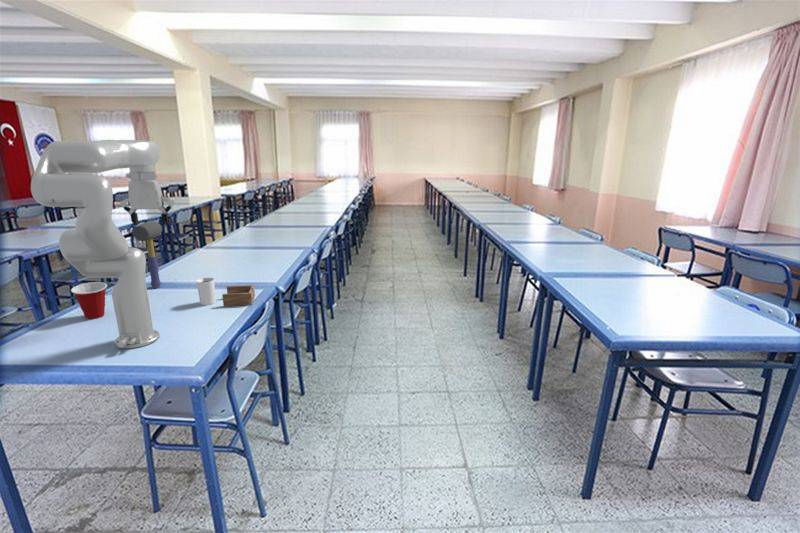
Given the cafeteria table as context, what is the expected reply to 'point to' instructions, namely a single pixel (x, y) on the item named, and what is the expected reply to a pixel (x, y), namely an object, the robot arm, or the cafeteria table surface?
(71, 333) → the cafeteria table surface
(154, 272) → the rubber mallet
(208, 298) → the white paper cup
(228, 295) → the box
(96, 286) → the plastic cup
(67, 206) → the robot arm
